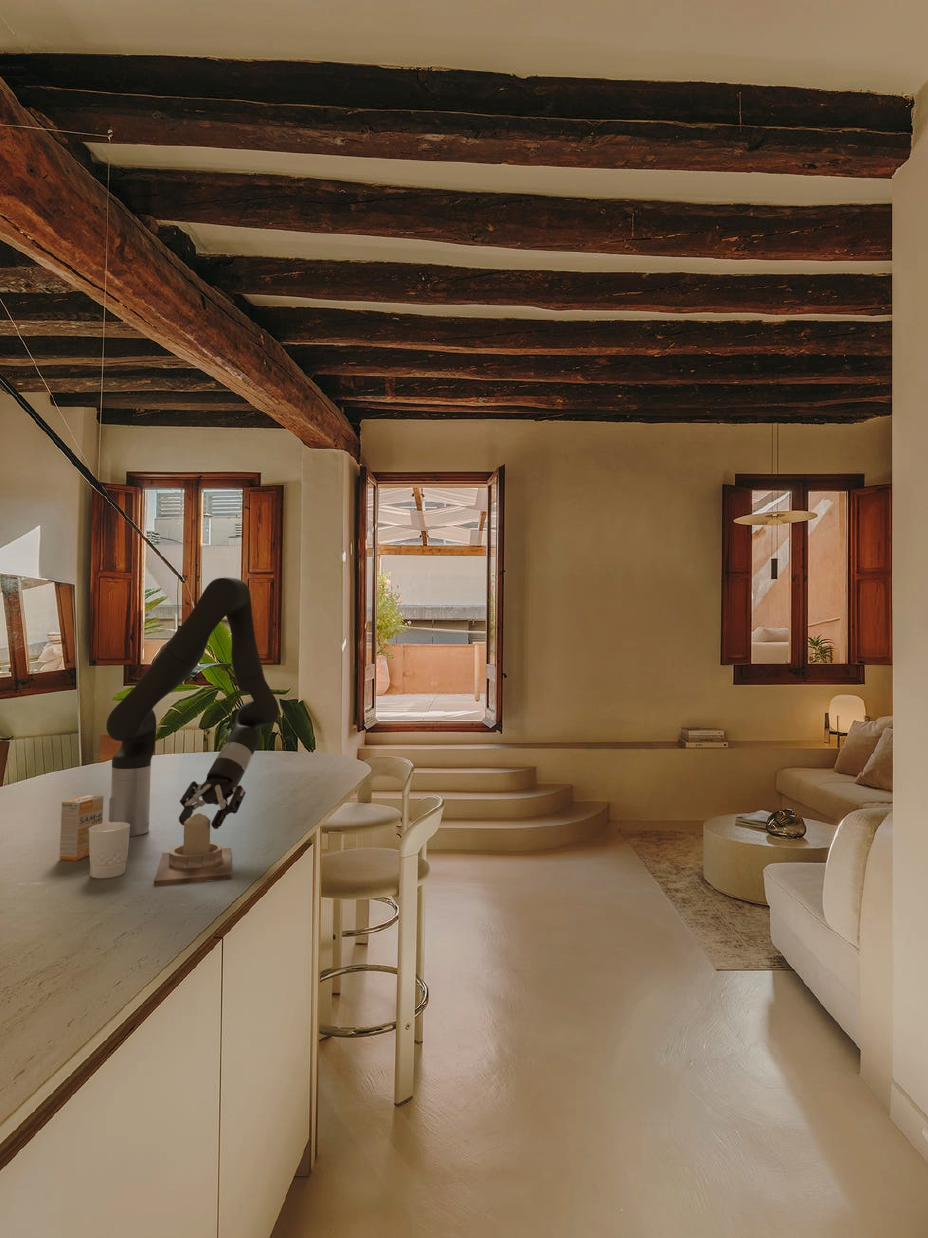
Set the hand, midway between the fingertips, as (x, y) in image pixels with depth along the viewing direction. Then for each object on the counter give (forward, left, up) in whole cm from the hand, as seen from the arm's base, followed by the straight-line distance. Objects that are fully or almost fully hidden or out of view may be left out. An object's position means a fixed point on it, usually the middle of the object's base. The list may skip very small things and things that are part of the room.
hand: (197, 825), depth 157 cm
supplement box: (-26, +14, -9) cm, 31 cm away
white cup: (-18, -2, -9) cm, 20 cm away
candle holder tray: (0, -3, -9) cm, 9 cm away
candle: (0, 0, -8) cm, 8 cm away
